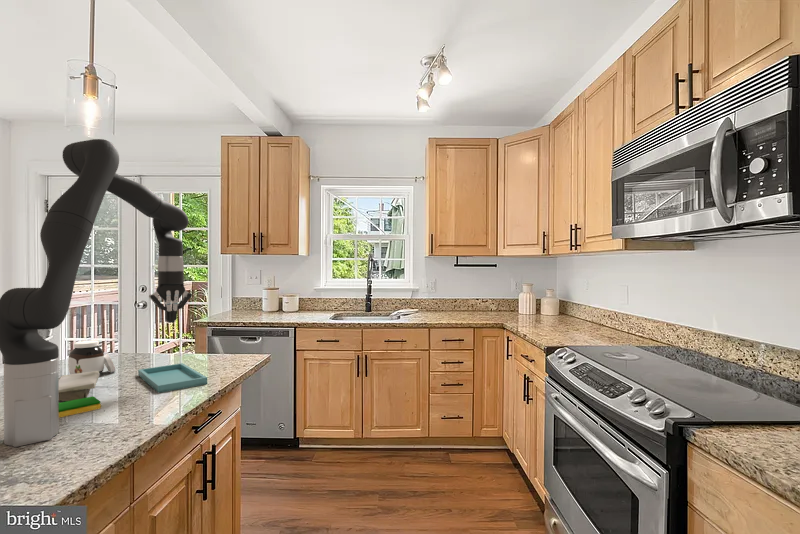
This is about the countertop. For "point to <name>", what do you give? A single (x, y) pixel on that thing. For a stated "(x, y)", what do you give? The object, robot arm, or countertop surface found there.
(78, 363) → the spread jar
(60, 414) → the dish sponge
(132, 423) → the countertop surface
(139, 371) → the tray
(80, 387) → the packaged product
